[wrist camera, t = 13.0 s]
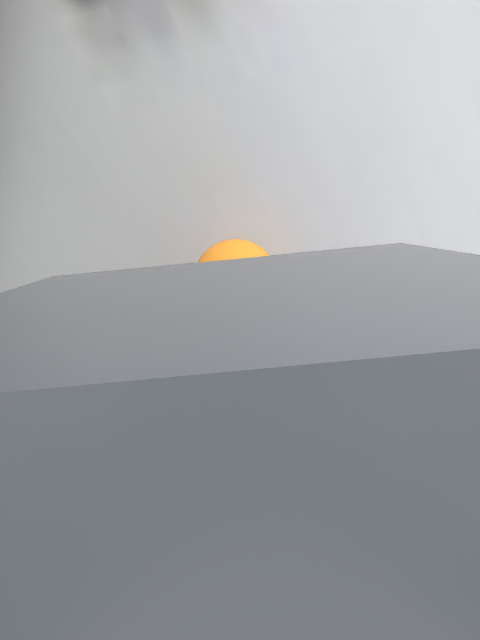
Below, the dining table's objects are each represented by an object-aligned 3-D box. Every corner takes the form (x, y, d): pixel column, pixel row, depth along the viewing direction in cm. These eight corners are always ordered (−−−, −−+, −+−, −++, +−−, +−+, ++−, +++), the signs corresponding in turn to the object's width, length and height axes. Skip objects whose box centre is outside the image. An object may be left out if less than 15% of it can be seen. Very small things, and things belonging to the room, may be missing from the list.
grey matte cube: (53, 276, 12) (-441, 432, 3) (400, 242, 12) (865, 313, 3) (113, 559, 14) (-72, 1070, 6) (398, 534, 14) (649, 1020, 6)
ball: (199, 347, 23) (200, 291, 27) (284, 339, 23) (274, 283, 27) (183, 283, 20) (186, 227, 23) (284, 272, 20) (272, 217, 23)
